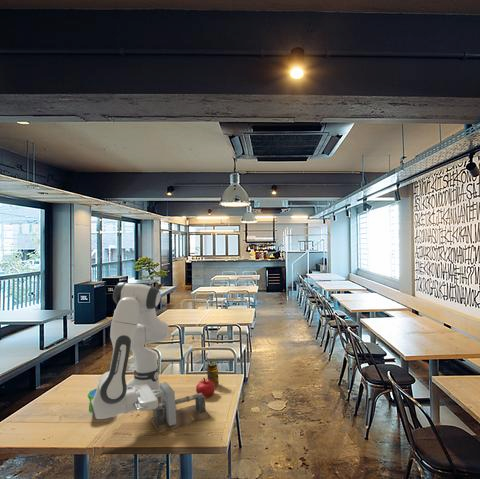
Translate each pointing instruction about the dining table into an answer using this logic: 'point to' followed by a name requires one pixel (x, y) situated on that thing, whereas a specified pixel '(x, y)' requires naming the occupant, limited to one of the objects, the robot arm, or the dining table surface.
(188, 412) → the pipe rig
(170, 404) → the grey slab
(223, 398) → the dining table surface
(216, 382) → the condiment
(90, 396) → the snack cup
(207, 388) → the pomegranate
